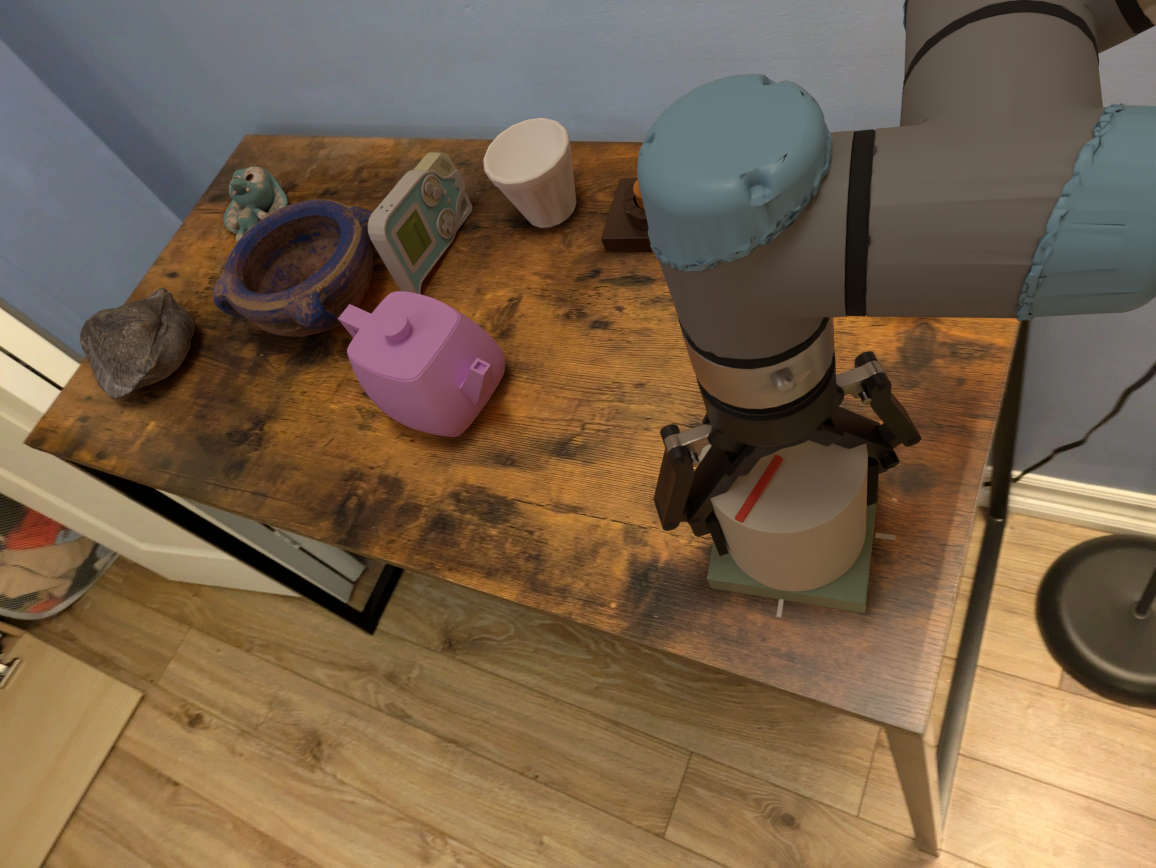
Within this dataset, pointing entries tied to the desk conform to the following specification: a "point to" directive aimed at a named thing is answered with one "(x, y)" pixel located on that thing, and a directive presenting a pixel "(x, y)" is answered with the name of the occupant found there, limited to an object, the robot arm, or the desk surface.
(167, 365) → the fossil
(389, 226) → the handheld gaming console
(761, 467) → the beige cylindrical knob
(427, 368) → the teapot
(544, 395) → the desk surface
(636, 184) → the button
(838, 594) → the dial base plate
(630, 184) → the base
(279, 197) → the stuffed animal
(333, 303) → the bowl
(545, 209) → the cup
